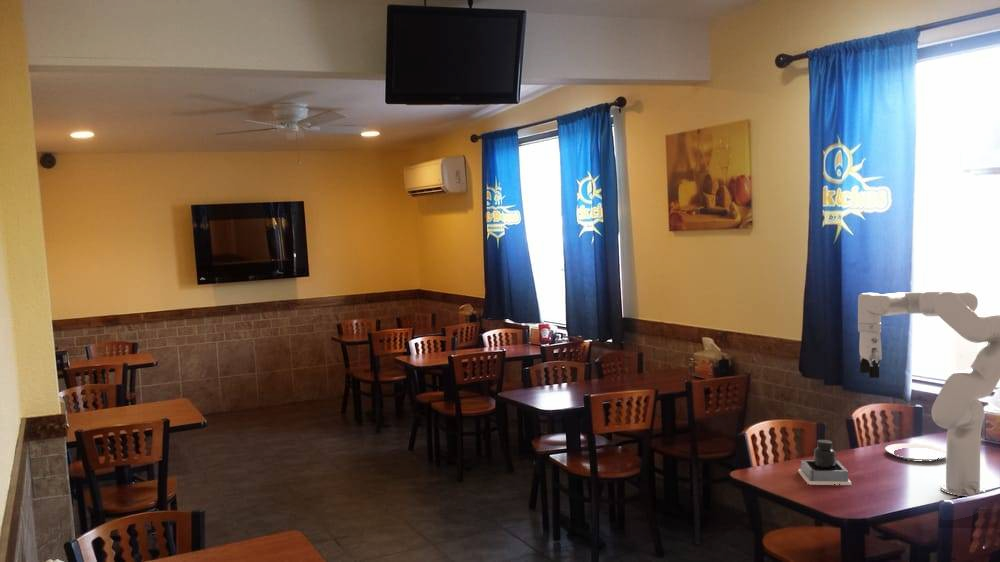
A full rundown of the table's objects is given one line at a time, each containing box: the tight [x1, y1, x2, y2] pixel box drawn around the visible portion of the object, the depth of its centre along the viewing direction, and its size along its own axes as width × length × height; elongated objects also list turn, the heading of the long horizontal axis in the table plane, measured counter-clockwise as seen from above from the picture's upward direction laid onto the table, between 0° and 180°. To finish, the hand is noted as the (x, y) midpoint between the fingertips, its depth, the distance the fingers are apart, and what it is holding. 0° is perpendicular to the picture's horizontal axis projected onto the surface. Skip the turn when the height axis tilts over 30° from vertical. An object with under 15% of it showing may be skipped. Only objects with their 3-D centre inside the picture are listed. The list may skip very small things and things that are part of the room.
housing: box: [797, 459, 852, 486], centre depth 279 cm, size 14×14×4 cm
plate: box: [884, 442, 946, 461], centre depth 301 cm, size 21×21×2 cm
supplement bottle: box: [813, 439, 836, 470], centre depth 278 cm, size 7×7×12 cm
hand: (869, 374), depth 289 cm, fingers open, 9 cm apart
